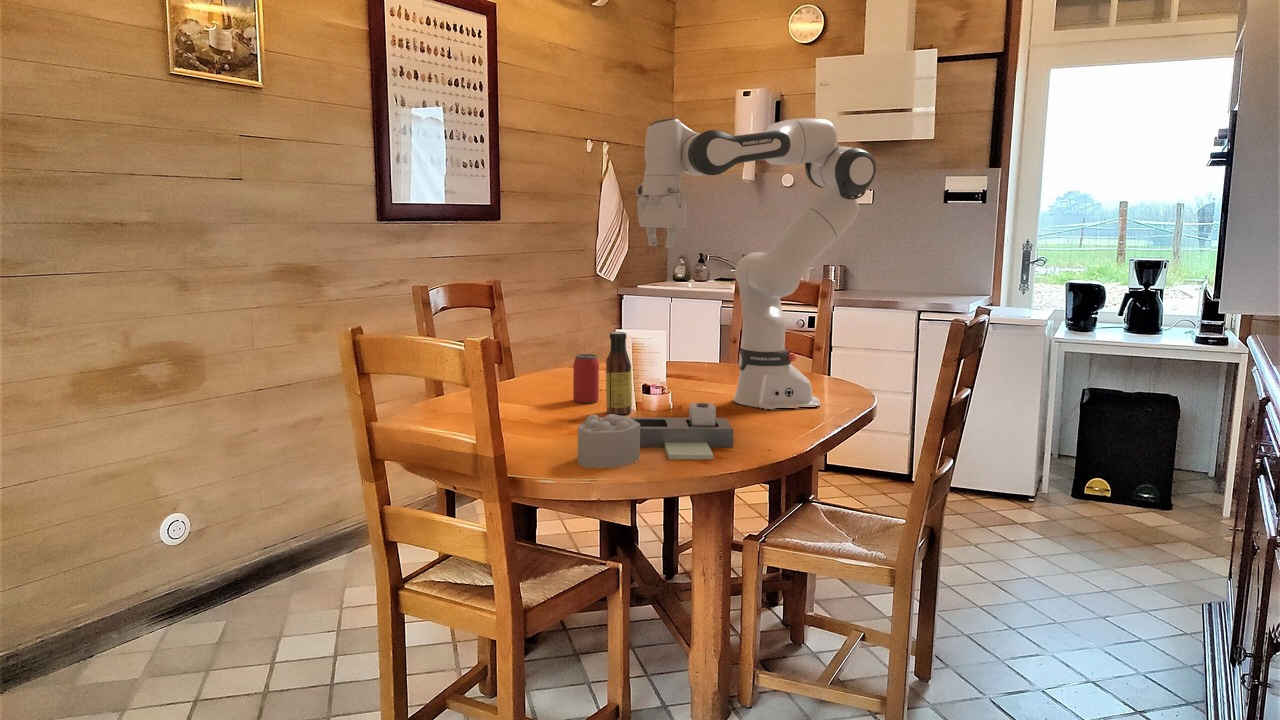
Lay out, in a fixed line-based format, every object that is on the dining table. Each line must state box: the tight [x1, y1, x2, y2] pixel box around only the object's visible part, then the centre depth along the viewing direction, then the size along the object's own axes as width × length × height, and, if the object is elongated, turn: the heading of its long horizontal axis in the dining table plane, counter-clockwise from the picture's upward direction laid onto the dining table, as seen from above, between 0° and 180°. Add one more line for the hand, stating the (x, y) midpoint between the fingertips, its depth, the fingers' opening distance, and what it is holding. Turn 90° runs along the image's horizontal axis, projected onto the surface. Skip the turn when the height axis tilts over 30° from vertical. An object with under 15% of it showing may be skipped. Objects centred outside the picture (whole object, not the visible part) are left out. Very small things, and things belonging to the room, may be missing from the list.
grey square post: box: [688, 402, 717, 427], centre depth 184 cm, size 5×5×8 cm
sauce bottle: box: [605, 331, 633, 416], centre depth 208 cm, size 7×6×20 cm
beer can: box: [572, 353, 600, 404], centre depth 221 cm, size 7×7×12 cm
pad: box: [663, 443, 714, 460], centre depth 175 cm, size 9×9×1 cm
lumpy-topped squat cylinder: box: [577, 413, 641, 469], centre depth 169 cm, size 10×13×9 cm
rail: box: [628, 416, 734, 448], centre depth 184 cm, size 24×10×4 cm, turn 94°
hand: (661, 247), depth 206 cm, fingers open, 8 cm apart
